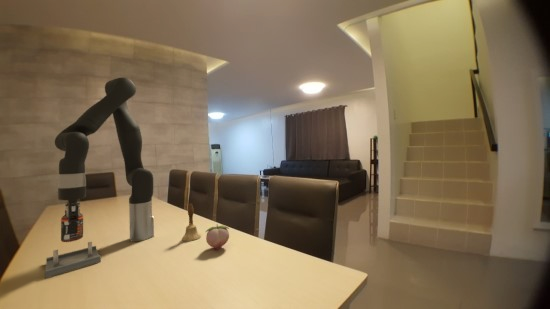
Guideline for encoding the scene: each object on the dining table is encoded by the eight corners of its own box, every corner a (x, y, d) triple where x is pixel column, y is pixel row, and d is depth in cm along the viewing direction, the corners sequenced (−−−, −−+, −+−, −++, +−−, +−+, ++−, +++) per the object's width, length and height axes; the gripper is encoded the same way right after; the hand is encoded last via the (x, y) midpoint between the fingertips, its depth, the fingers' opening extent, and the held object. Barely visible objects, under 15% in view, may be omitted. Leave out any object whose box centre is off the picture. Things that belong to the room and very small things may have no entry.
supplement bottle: (69, 243, 75) (69, 211, 75) (56, 242, 76) (56, 210, 76) (87, 237, 81) (87, 207, 81) (75, 236, 82) (74, 206, 82)
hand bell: (178, 239, 99) (177, 205, 99) (193, 233, 106) (192, 201, 106) (189, 242, 94) (188, 206, 95) (204, 236, 101) (203, 203, 102)
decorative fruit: (226, 242, 93) (226, 219, 93) (231, 249, 86) (230, 224, 86) (204, 246, 89) (203, 223, 89) (207, 254, 82) (206, 228, 82)
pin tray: (96, 251, 88) (95, 236, 88) (100, 261, 79) (100, 245, 79) (46, 263, 78) (46, 247, 78) (45, 278, 68) (44, 259, 69)
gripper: (87, 186, 76) (88, 233, 76) (84, 183, 86) (84, 224, 86) (58, 188, 71) (58, 239, 71) (58, 185, 81) (58, 229, 81)
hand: (72, 231), depth 79 cm, fingers closed on supplement bottle, 6 cm apart
